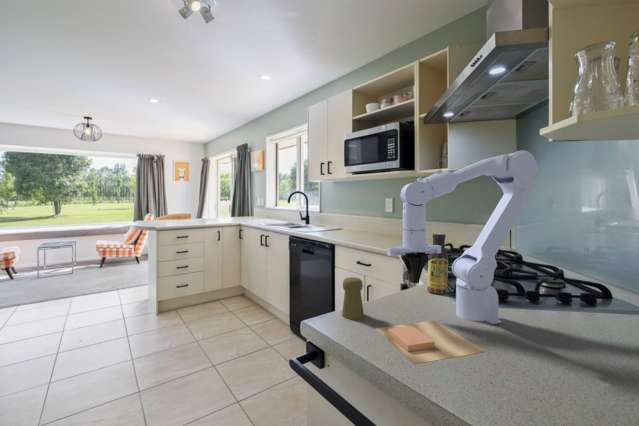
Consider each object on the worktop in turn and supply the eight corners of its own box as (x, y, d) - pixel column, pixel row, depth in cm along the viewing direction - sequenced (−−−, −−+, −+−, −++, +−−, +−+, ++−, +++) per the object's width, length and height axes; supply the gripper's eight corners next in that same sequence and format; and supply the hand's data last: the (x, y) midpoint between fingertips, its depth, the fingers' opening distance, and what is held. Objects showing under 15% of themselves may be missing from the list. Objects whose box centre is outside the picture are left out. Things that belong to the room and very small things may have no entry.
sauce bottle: (429, 294, 97) (429, 234, 97) (425, 289, 104) (425, 232, 103) (450, 295, 96) (450, 234, 96) (445, 289, 103) (445, 232, 102)
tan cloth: (434, 325, 73) (434, 320, 73) (486, 357, 58) (486, 351, 58) (375, 333, 69) (375, 328, 69) (413, 370, 54) (413, 364, 54)
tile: (412, 325, 67) (388, 328, 65) (434, 341, 59) (407, 345, 58) (412, 331, 67) (388, 334, 65) (434, 348, 59) (407, 352, 58)
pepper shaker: (364, 325, 74) (363, 281, 73) (339, 323, 75) (339, 280, 75) (365, 316, 80) (364, 275, 79) (342, 314, 81) (342, 274, 80)
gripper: (396, 232, 70) (396, 289, 70) (449, 229, 73) (449, 284, 74) (382, 229, 77) (383, 281, 77) (431, 227, 80) (431, 277, 81)
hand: (414, 282), depth 76 cm, fingers closed
